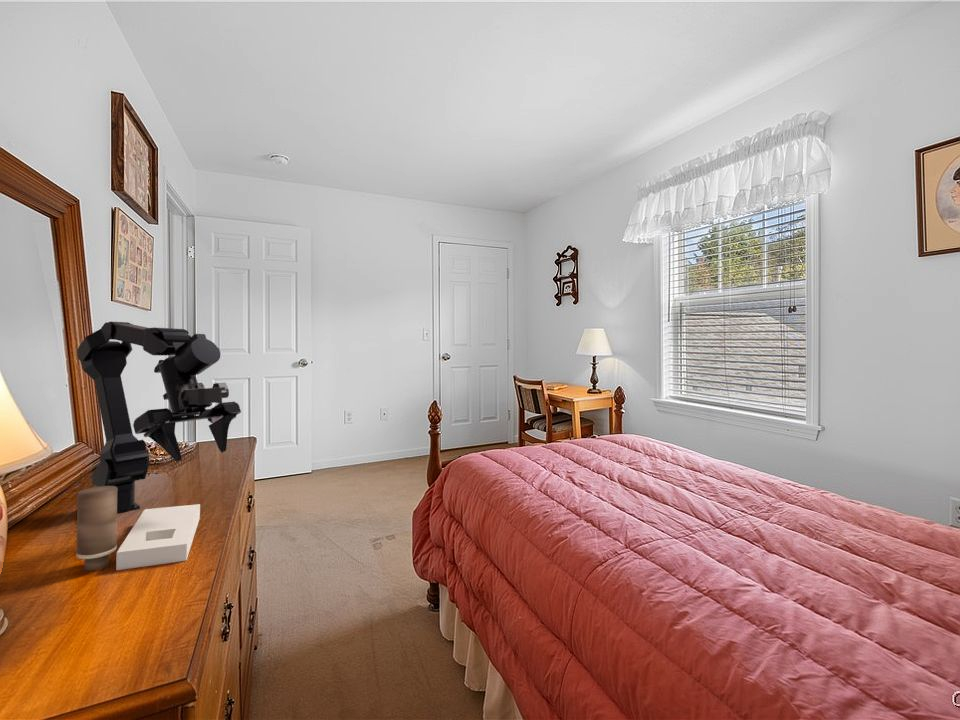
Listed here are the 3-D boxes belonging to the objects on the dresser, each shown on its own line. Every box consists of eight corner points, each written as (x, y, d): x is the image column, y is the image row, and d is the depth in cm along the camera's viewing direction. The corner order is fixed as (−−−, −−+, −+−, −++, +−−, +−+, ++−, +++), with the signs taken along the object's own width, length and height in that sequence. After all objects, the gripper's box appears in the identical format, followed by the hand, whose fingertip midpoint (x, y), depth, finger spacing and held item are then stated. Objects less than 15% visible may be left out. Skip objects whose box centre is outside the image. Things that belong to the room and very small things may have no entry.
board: (144, 523, 98) (144, 509, 98) (199, 517, 103) (200, 504, 102) (116, 570, 78) (116, 552, 78) (186, 560, 83) (186, 543, 83)
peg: (72, 566, 79) (74, 490, 79) (111, 556, 83) (113, 483, 83) (80, 577, 76) (81, 497, 75) (120, 566, 80) (121, 490, 79)
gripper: (154, 369, 84) (178, 451, 82) (245, 367, 101) (267, 434, 99) (122, 393, 89) (143, 471, 86) (215, 387, 106) (235, 452, 103)
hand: (202, 456), depth 93 cm, fingers open, 9 cm apart
